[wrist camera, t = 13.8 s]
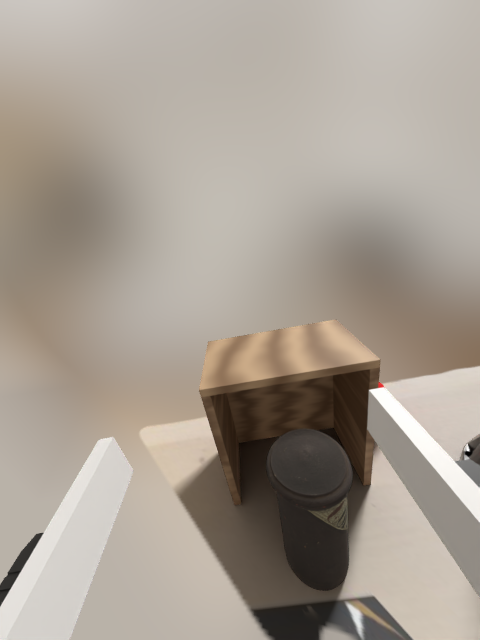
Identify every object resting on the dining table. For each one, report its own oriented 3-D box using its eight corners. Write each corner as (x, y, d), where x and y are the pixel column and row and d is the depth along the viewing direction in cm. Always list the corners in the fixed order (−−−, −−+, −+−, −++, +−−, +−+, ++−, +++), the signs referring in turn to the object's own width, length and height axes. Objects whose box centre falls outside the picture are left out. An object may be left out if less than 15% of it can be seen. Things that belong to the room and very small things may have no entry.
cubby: (336, 422, 51) (335, 319, 41) (370, 484, 39) (380, 359, 29) (233, 438, 51) (208, 341, 42) (234, 505, 39) (199, 390, 30)
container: (356, 604, 27) (362, 507, 20) (280, 585, 30) (259, 492, 22) (343, 518, 35) (344, 424, 27) (284, 509, 37) (269, 420, 30)
